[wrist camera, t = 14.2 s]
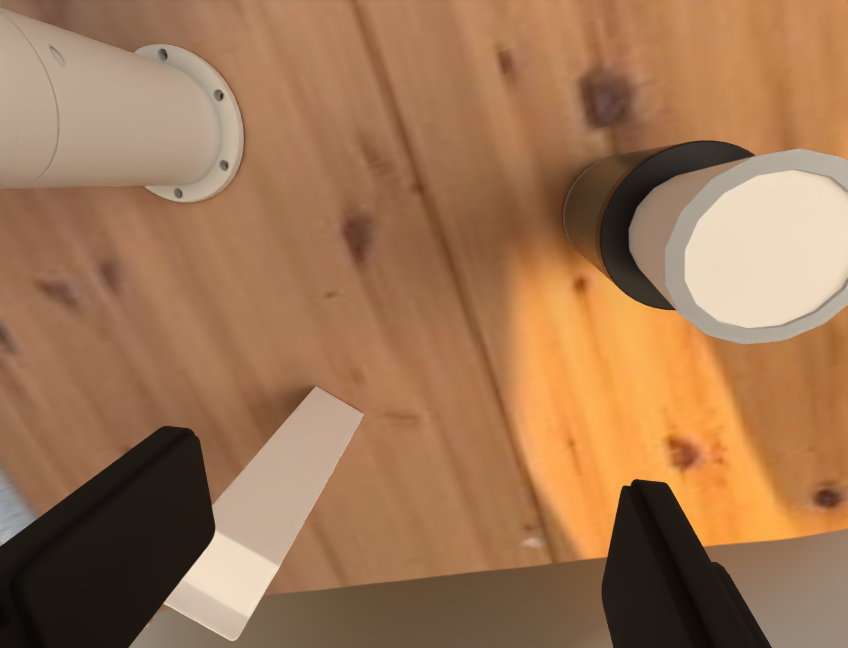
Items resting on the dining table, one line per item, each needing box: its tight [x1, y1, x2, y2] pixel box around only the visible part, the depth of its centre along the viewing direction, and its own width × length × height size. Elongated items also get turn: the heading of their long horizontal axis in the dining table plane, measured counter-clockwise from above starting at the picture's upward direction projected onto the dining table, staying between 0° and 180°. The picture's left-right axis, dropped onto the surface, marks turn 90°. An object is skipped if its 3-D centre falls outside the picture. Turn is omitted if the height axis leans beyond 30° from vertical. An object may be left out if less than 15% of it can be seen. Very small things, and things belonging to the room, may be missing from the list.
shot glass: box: [629, 149, 848, 344], centre depth 18 cm, size 7×7×7 cm
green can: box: [562, 141, 755, 310], centre depth 28 cm, size 8×8×14 cm
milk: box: [164, 386, 364, 641], centre depth 35 cm, size 6×6×22 cm
